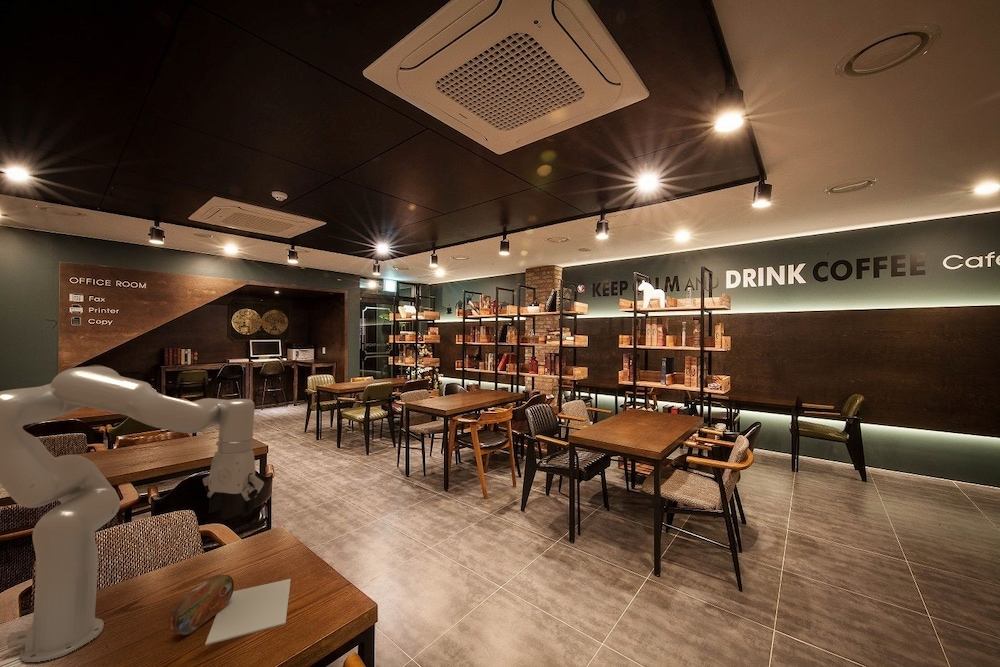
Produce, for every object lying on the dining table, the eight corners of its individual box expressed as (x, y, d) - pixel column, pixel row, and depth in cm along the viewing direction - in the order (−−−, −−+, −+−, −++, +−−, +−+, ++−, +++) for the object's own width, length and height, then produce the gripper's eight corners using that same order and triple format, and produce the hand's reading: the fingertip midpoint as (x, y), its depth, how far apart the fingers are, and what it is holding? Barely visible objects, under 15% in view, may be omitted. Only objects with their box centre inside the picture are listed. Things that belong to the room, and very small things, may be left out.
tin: (177, 644, 87) (176, 606, 87) (166, 642, 88) (165, 605, 88) (235, 599, 102) (234, 567, 102) (225, 598, 102) (224, 567, 103)
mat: (205, 645, 87) (205, 643, 87) (224, 594, 105) (224, 593, 105) (285, 624, 94) (285, 622, 94) (290, 580, 112) (290, 578, 112)
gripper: (193, 447, 98) (188, 515, 97) (253, 452, 96) (248, 521, 95) (219, 441, 106) (214, 504, 105) (275, 445, 103) (271, 509, 102)
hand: (231, 512), depth 100 cm, fingers open, 9 cm apart
